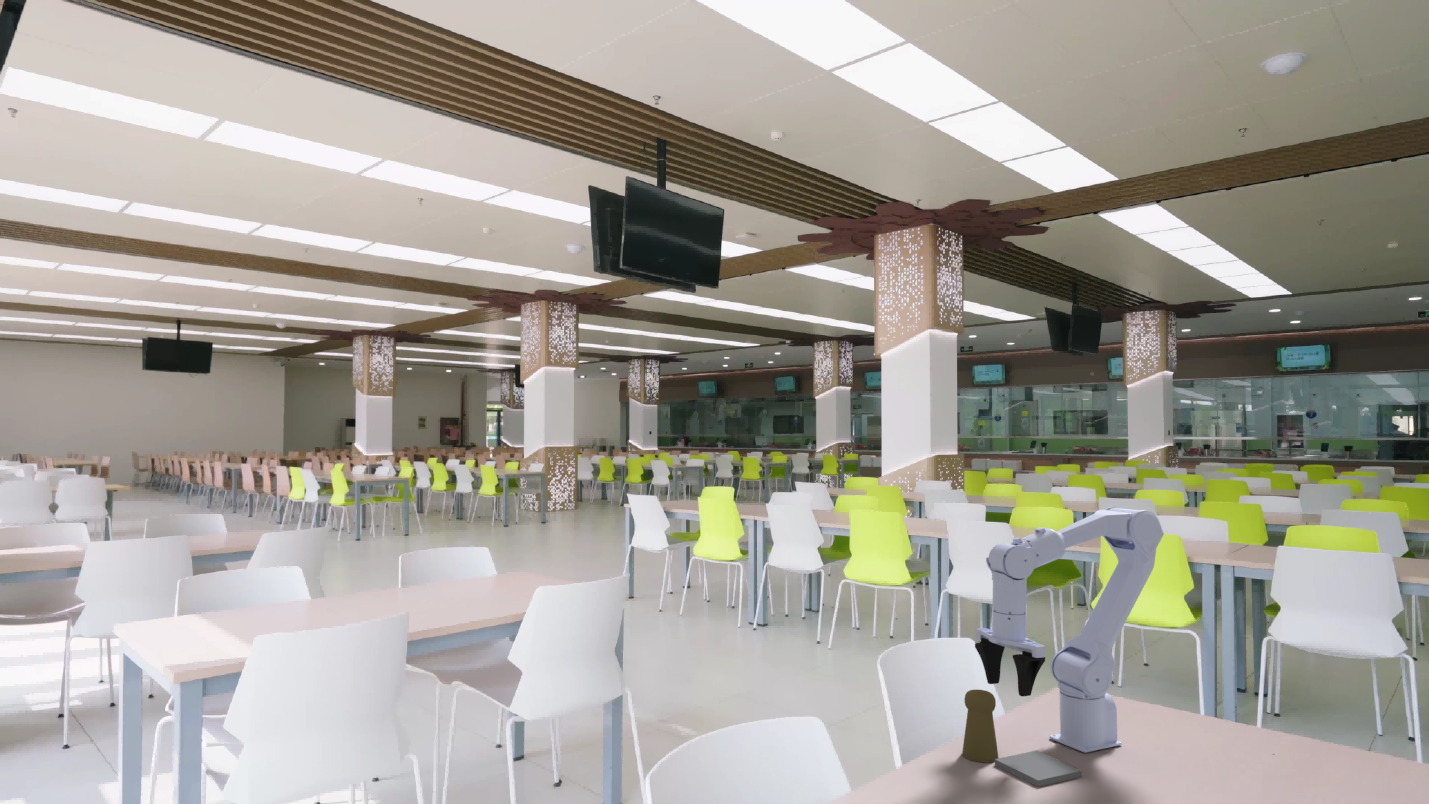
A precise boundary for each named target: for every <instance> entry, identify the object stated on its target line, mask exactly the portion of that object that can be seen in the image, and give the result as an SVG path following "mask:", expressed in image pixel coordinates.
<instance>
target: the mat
mask: <svg viewBox="0 0 1429 804" xmlns="http://www.w3.org/2000/svg"><path fill="white" fill-rule="evenodd" d="M994 766H996V767H997V768H1000V769H1001V770H1003V769H1004V771H1006V772H1007V773H1010V774H1012V775H1013V776H1016V777H1017V778H1020V779H1021V780H1023V781H1026V782H1027V783H1030V784H1032V785H1033V786H1036V787H1038V788H1040V787H1044V786H1045V787H1046V786H1048V785H1053V784H1057V783H1061V782H1066V781H1069V780H1073V779H1078V778H1082V777H1083V770H1082V769H1080V768H1077V767H1075V766H1073V765H1071V764H1069V763H1067V762H1064V761H1062V760H1059V759H1057V758H1055V757H1053V756H1051V755H1048V754H1046V753H1043V752H1042V751H1039V750H1032V751H1027V752H1023V753H1017V754H1014V755H1013V754H1012V755H1007V756H1004V757H999V758H998V759H995V761H994Z"/></svg>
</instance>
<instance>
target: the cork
mask: <svg viewBox="0 0 1429 804" xmlns="http://www.w3.org/2000/svg"><path fill="white" fill-rule="evenodd" d="M996 702H997V701H996V698H995V696H994V694H993V693H992V692H990V691H988V690H984V689H970V690H968V691H967V692H966V693H965V696H964V705H965V707H966V709H967V713H966V715H967V716H966V721H965V722H966V723H965V728H964V737H963V746H962V753H961V755H962V756H963V757H964V758H965V759H968V760H970V761H974V762H979V763H995V759H998V758H1000V757H999V749H998V743H997V738H996V737H997V736H996V728H995V722H994V715H993V713H994V710H995V708H996V706H997V705H996Z"/></svg>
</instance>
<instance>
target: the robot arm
mask: <svg viewBox="0 0 1429 804" xmlns="http://www.w3.org/2000/svg"><path fill="white" fill-rule="evenodd" d="M1100 537H1103V538H1104V540H1105V541H1106V543H1107V544H1108V546H1109V547H1110V549H1111V550H1112V551H1113V553H1114V554H1115V555H1116V556H1115V557H1116V558H1117V564H1116V566H1115V568H1114V570H1113V572H1112V574H1111V576H1110V578H1109V580H1108V581H1107V583H1106V585H1105V588H1103V591H1102V593H1101V594H1100V597H1099V599H1098V600H1097V602H1096V604H1095V606H1094V608H1093V610H1092V611H1091V614H1090V615H1089V617H1088V619H1087V621H1086V623H1085V625H1084V626H1083V628H1082V629H1081V630H1082V631H1081V633H1080V634H1079V635H1077V636H1075V637H1072V638H1070V639H1068V640H1066V642H1065V644H1064V646H1063V647H1062V648H1061V649H1060V650H1059V651H1057V652H1056V653H1055V654H1054V655H1053V657H1052V658H1051V661H1050V673H1051V675H1052V677H1053V678H1054V679H1055V680H1056V681H1057V688H1058V689H1059V692H1058V693H1059V721H1060V722H1059V723H1060V724H1059V727H1060V728H1059V731H1060V733H1056V734H1055V733H1054V734H1051V735H1049V739H1050V740H1053V741H1055V742H1058V743H1060V744H1062V745H1064V746H1066V747H1070V748H1072V749H1073V750H1074V749H1075V750H1077V751H1078V752H1080V753H1081V752H1082V753H1084V754H1085V753H1091V752H1094V751H1099V750H1105V749H1109V748H1112V747H1118V746H1122V741H1120V740H1118V711H1117V705H1116V702H1115V699H1113V697H1112V696H1111V694H1109V693H1108V692H1109V690H1110V688H1111V687H1112V682H1113V681H1112V680H1113V674H1114V673H1113V672H1114V671H1115V669H1116V666H1117V664H1116V663H1117V662H1116V660H1115V659H1114V657H1113V654H1112V652H1111V651H1112V648H1113V647H1114V644H1115V643H1116V641H1117V639H1118V637H1119V635H1120V634H1121V631H1122V629H1123V628H1124V625H1125V624H1126V621H1127V620H1128V619H1129V616H1130V614H1131V613H1132V610H1133V609H1134V607H1135V605H1136V603H1137V601H1138V598H1139V597H1140V595H1141V593H1142V591H1143V589H1144V587H1145V585H1146V583H1147V582H1148V579H1149V578H1150V576H1151V574H1152V572H1153V570H1154V567H1155V562H1156V553H1157V548H1158V546H1159V544H1160V543H1161V541H1162V538H1163V537H1164V531H1163V528H1162V525H1161V522H1160V520H1159V518H1158V517H1157V515H1156V514H1155V513H1154V512H1152V511H1150V510H1147V509H1141V510H1139V509H1131V508H1120V507H1117V506H1108V507H1106V508H1104V509H1099V510H1096V511H1095V512H1094V513H1093V514H1091V515H1088V516H1087V517H1083V518H1082V519H1080V520H1077V521H1076V522H1073V523H1072V524H1069V525H1067V526H1065V527H1063V528H1061V529H1058V530H1054V529H1052V528H1050V527H1041V526H1039V527H1037V528H1035V529H1034V533H1030V534H1029V535H1026V536H1023V537H1018V536H1017V537H1014V538H1013V539H1012V542H1011V543H1005V542H1000V543H997V544H995V545H994V546H993V547H992V549H990V551H989V555H988V557H985V558H986V559H985V562H986V566H987V567H988V569H989V570H990V572H991V580H992V622H991V623H992V626H991V627H992V629H991V628H987V627H979V628H976V630H975V631H976V636H975V637H976V638H975V639H976V640H979V642H975V643H974V648H975V650H976V651H977V653H978V655H979V657H980V660H981V662H982V666H983V669H984V672H985V673H984V674H985V677H986V680H987V684H989V685H995V684H999V683H1000V678H1001V665H1002V659H1003V654H1004V652H1005V651H1004V650H1005V648H1008V649H1011V650H1014V651H1016V652H1021V653H1019V654H1018V653H1017V654H1012V659H1013V661H1014V665H1015V668H1016V669H1015V670H1016V673H1017V692H1018V695H1019V696H1020V697H1028V696H1031V695H1032V691H1033V689H1034V684H1035V682H1036V679H1037V675H1038V673H1039V671H1040V669H1041V668H1042V666H1043V665H1044V664H1045V662H1046V656H1045V655H1046V646H1045V645H1044V644H1040V643H1039V642H1036V641H1034V640H1033V639H1030V638H1028V637H1027V605H1028V604H1027V599H1028V598H1027V587H1028V585H1027V582H1028V578H1029V577H1030V576H1031V575H1032V573H1033V572H1034V570H1035V569H1037V568H1039V567H1042V566H1044V565H1047V564H1049V563H1051V562H1054V561H1057V560H1059V559H1062V558H1063V557H1064V555H1065V552H1066V549H1068V548H1071V547H1074V546H1077V545H1080V544H1083V543H1086V542H1088V541H1092V540H1094V539H1098V538H1100Z"/></svg>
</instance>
